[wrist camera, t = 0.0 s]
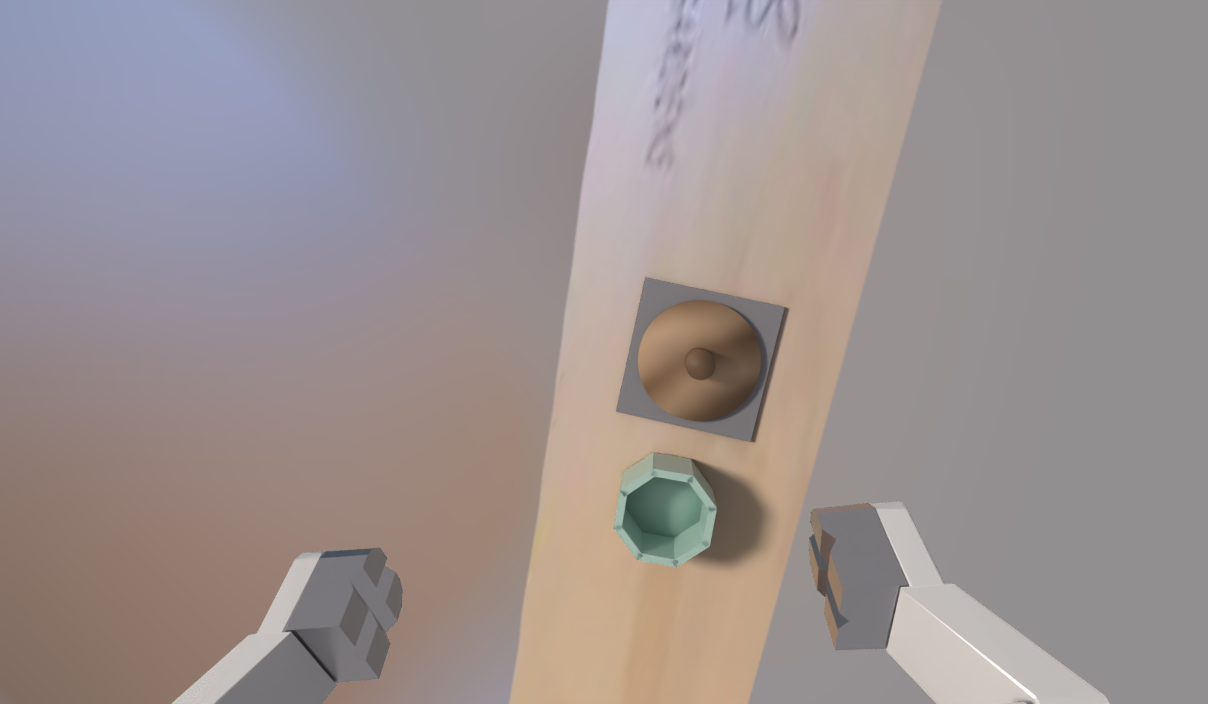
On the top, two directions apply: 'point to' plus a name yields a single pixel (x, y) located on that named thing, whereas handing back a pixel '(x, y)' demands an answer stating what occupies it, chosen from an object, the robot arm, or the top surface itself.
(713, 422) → the rubber mat
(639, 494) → the ceramic bowl
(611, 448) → the top surface
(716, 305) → the walnut lid
